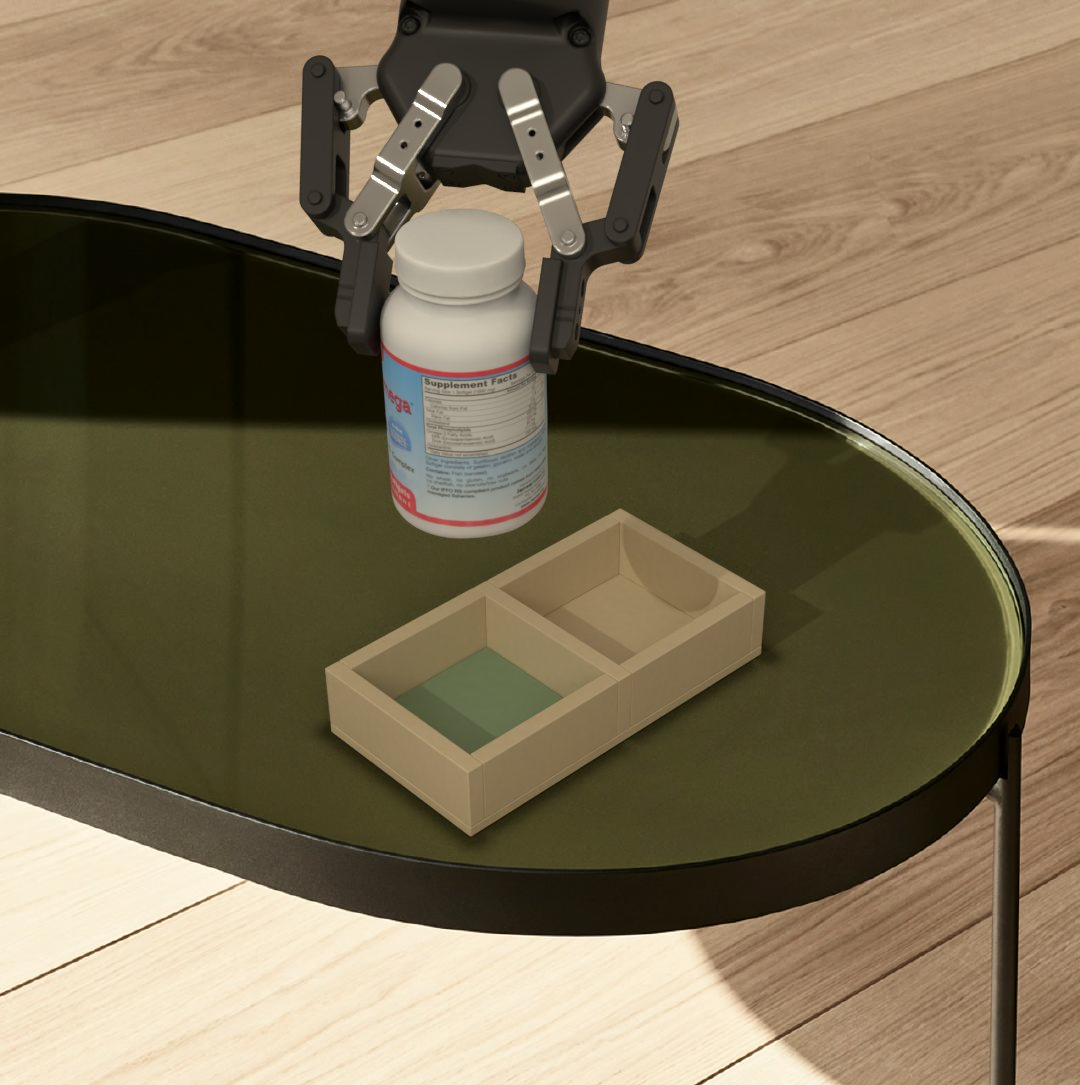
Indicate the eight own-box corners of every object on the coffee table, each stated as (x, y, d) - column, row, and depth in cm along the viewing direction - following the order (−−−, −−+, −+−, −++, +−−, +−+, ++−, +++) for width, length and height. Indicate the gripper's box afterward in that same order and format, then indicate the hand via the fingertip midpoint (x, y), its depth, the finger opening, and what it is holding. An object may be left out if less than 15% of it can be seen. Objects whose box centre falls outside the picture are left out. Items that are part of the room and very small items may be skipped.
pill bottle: (396, 460, 79) (377, 198, 71) (548, 458, 79) (544, 197, 71) (387, 547, 74) (366, 277, 67) (548, 545, 74) (544, 275, 67)
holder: (470, 837, 79) (467, 772, 77) (330, 731, 84) (324, 668, 82) (761, 654, 88) (766, 591, 86) (619, 568, 93) (620, 507, 91)
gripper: (301, -152, 69) (229, 310, 68) (705, -130, 67) (637, 350, 65) (355, -51, 76) (290, 368, 75) (720, -27, 74) (659, 406, 73)
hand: (452, 357), depth 70 cm, fingers closed on pill bottle, 6 cm apart
